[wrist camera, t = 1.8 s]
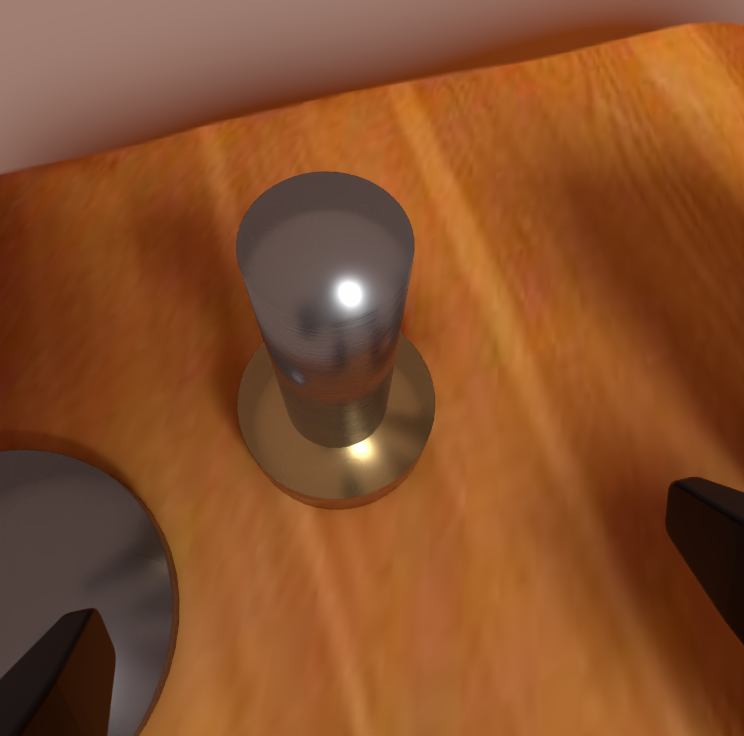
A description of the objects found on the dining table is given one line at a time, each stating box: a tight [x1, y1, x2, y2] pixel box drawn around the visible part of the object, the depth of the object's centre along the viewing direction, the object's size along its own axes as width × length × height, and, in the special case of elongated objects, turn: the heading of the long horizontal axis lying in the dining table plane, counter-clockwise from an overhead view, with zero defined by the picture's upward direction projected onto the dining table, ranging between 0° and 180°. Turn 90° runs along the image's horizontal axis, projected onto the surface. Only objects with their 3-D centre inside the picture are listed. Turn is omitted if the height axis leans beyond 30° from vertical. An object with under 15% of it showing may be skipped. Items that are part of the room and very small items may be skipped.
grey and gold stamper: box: [236, 172, 435, 510], centre depth 17 cm, size 7×7×12 cm
